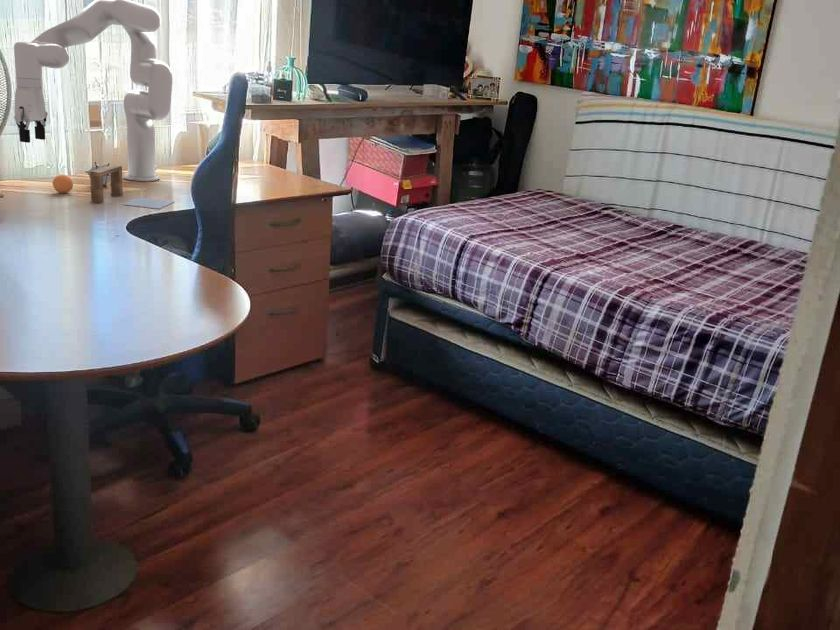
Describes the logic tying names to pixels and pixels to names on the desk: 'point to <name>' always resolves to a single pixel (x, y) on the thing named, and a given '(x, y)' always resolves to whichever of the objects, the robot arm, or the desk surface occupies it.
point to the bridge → (97, 182)
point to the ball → (62, 184)
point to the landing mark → (148, 203)
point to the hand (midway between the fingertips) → (32, 140)
